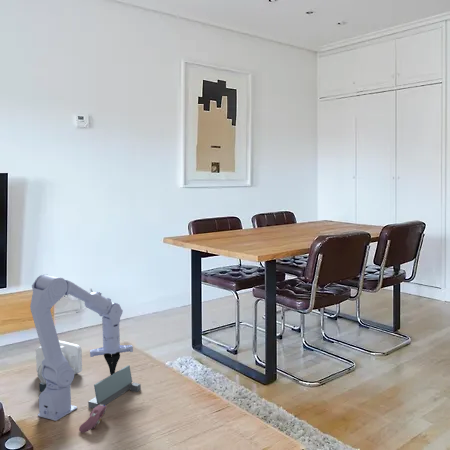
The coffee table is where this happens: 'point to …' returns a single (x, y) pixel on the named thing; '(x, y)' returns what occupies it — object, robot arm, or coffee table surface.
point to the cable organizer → (65, 355)
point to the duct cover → (112, 384)
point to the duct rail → (115, 395)
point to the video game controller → (93, 418)
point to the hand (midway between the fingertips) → (112, 373)
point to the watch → (41, 379)
